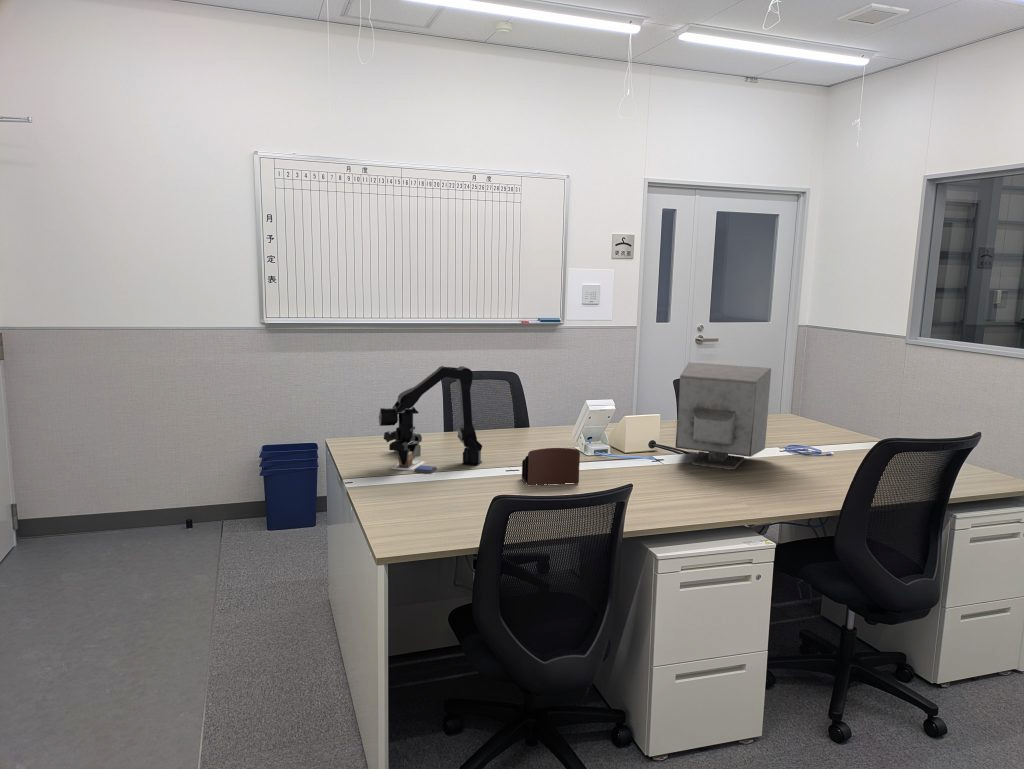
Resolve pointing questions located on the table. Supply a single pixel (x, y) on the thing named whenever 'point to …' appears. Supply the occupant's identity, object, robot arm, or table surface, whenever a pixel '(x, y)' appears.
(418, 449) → the digital clock
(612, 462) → the table surface
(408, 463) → the beige block
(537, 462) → the letter holder
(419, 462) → the sheet
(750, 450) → the crt monitor
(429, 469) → the ink pad
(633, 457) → the table surface
